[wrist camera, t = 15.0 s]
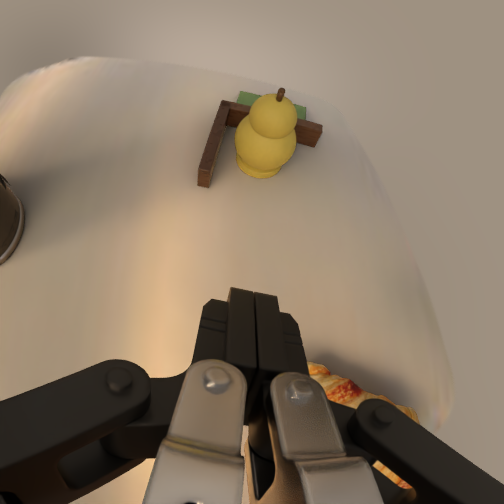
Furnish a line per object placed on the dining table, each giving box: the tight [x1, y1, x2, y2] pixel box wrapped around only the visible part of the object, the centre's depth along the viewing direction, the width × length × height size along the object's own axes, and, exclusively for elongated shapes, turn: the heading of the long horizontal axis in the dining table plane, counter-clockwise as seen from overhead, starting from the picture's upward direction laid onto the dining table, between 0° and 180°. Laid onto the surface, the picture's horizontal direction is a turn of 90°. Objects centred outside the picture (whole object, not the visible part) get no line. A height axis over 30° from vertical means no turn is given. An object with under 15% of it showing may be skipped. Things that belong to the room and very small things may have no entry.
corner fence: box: [197, 100, 323, 188], centre depth 34 cm, size 12×11×3 cm
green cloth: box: [237, 91, 306, 120], centre depth 38 cm, size 9×5×1 cm, turn 81°
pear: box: [235, 88, 297, 178], centre depth 30 cm, size 6×6×11 cm
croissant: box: [307, 362, 420, 489], centre depth 23 cm, size 21×10×8 cm, turn 38°
